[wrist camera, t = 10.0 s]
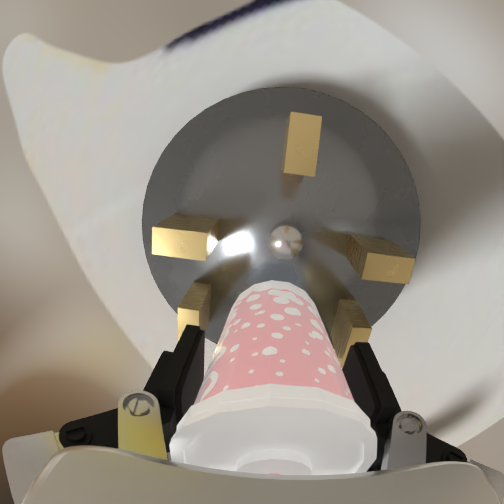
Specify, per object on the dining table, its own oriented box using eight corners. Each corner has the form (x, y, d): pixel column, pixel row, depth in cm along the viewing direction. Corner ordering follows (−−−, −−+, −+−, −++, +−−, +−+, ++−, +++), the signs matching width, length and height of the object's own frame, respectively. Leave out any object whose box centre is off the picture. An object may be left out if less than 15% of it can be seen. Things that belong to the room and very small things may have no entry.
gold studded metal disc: (163, 87, 14) (128, 66, 10) (424, 124, 14) (468, 117, 9) (154, 326, 19) (128, 368, 14) (373, 350, 18) (393, 395, 14)
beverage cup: (269, 240, 14) (252, 633, 1) (354, 314, 15) (453, 578, 2) (193, 322, 16) (89, 581, 2) (276, 380, 17) (272, 615, 3)
